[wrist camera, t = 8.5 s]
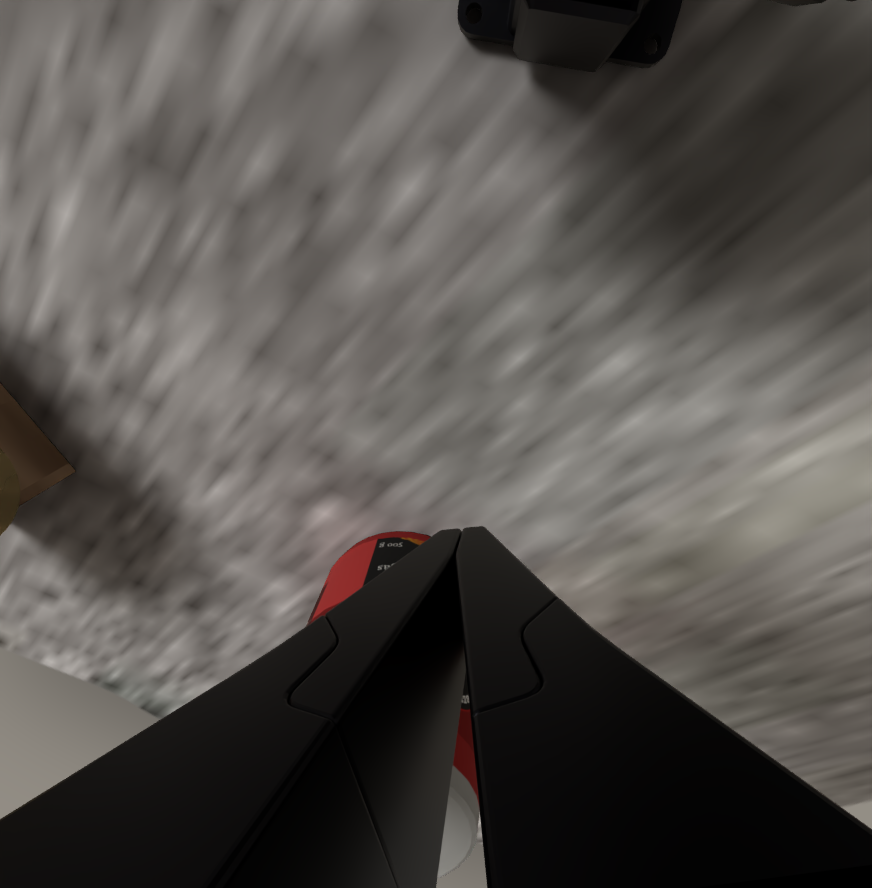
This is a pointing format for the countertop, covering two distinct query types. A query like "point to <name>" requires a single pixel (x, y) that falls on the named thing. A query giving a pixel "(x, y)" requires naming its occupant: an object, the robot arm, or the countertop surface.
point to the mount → (29, 450)
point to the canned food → (463, 792)
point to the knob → (8, 492)
